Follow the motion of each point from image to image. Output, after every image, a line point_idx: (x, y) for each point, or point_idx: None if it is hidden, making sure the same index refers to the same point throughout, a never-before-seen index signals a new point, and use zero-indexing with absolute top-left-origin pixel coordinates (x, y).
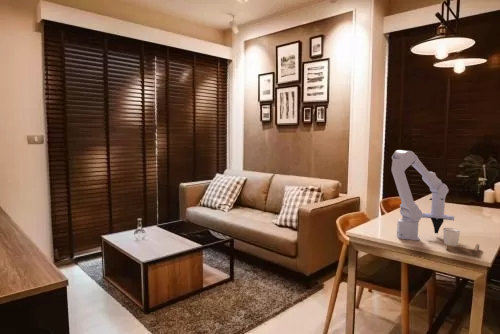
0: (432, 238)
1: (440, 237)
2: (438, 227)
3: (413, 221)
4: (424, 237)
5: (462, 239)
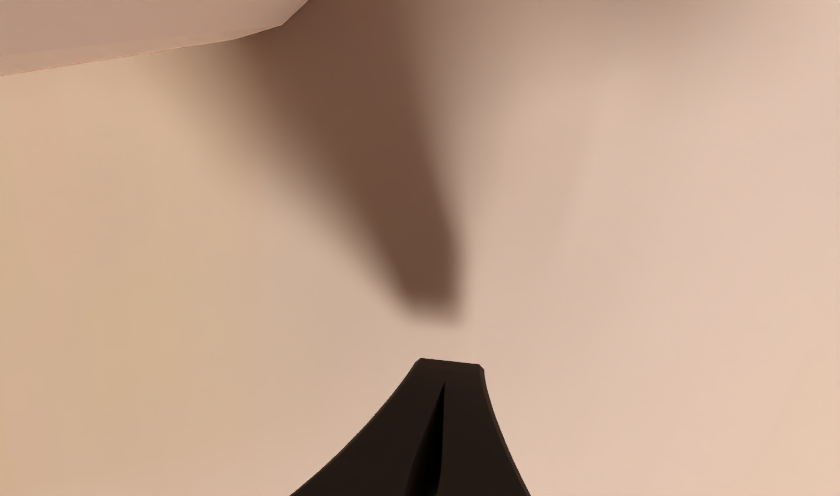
0: (554, 202)
1: (378, 325)
2: (380, 457)
3: None
4: (732, 219)
5: (49, 319)
